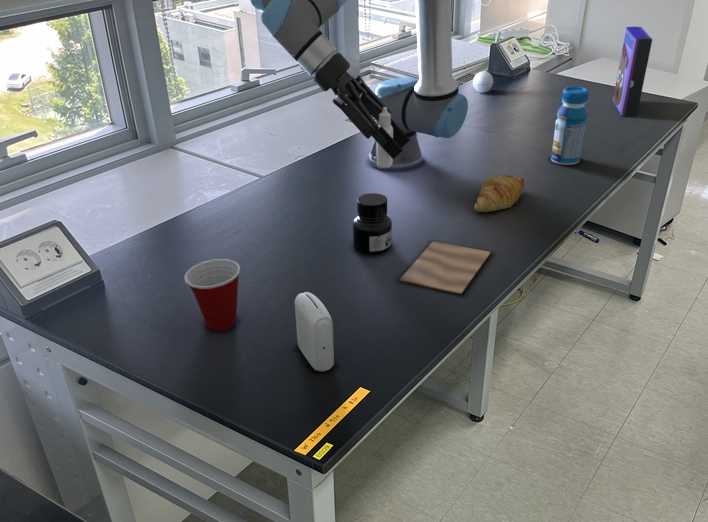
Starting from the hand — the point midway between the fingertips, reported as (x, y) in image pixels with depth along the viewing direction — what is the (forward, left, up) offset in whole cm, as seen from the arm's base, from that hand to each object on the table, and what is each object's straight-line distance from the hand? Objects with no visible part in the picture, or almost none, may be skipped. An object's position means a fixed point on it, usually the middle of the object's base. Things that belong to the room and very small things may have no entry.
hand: (401, 149), depth 153 cm
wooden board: (+2, +12, -24) cm, 27 cm away
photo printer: (+44, +2, -25) cm, 50 cm away
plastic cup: (+42, -21, -25) cm, 53 cm away
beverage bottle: (-71, +21, -25) cm, 78 cm away
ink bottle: (0, -7, -25) cm, 25 cm away
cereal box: (-126, +28, -25) cm, 131 cm away
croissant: (-36, +12, -25) cm, 45 cm away
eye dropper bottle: (+1, -4, -4) cm, 5 cm away
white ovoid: (-127, -21, -25) cm, 131 cm away
